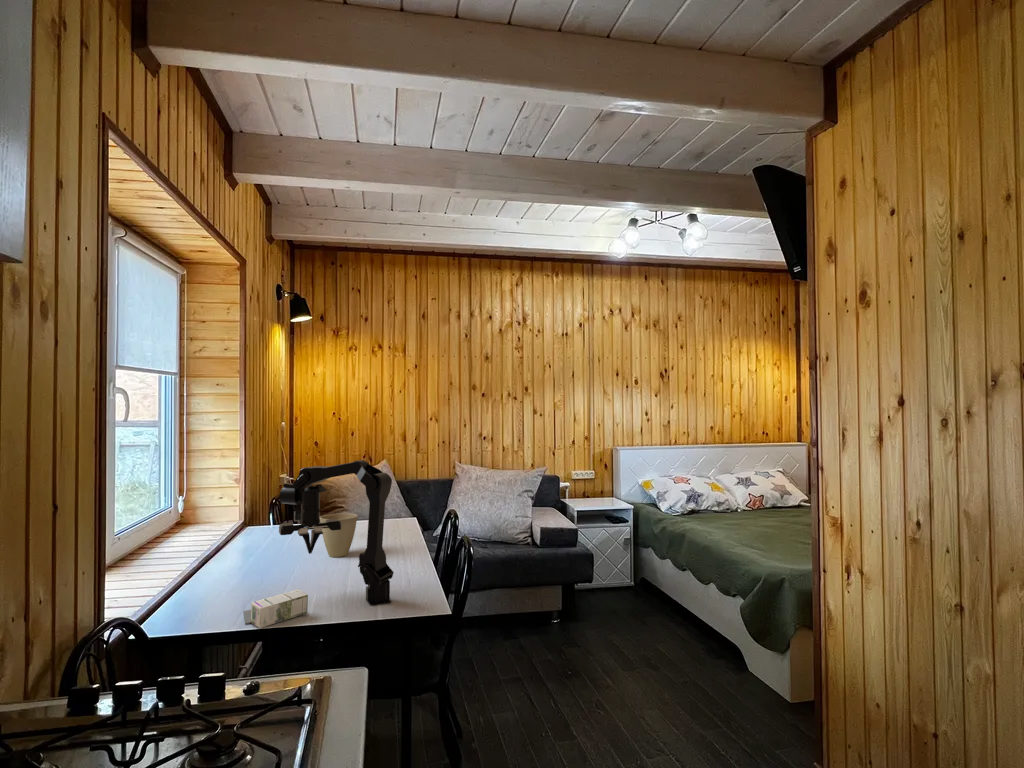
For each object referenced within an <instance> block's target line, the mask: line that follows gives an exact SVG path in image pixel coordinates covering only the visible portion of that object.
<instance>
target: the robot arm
mask: <svg viewBox="0 0 1024 768" xmlns="http://www.w3.org/2000/svg"><path fill="white" fill-rule="evenodd" d="M353 474H354V475H355V476H356V478H357V479H358V480H359V482H360V483H361V484H362V485H364V486H365V495H366V497H367V499H368V501H369V504H368V505H369V510H368V522H367V523H368V525H367V538H366V539H367V540H366V548H365V550H364V551H363V552H361V553H359V555H358V561H359V562H358V565H357V568H359V573H360V574H361V575H362V577H363V581H364V584H365V585H366V587H365V600H366V602H367V603H368V604H369V606H378V605H382V604H390V603H392V600H391V598H390V596H391V595H390V594H391V588H390V586H391V584H390V583H391V581H390V579H393V576H394V571H393V569H392V568H391V567H390V566H389V564H387V557H386V556H387V554H386V553H385V550H384V547H383V541H384V528H385V527H384V525H385V509H386V502H387V499H388V498H389V495H390V492H391V489H392V484H393V481H392V480H393V479H392V477H391V476H390V475H389V474H388V473H386V472H383V471H382V470H381V469H379V468H377V467H376V466H374V465H371V464H370V463H369V462H368V461H366V460H364V459H360V460H354V461H352V462H347V463H342V464H337V465H335V464H334V465H331V466H324V465H314V466H313V465H312V466H307V467H303V468H301V469H300V471H299V473H298V476H297V477H296V478H295V481H294V482H293V483H291V482H287V483H283V487H282V488H281V490H280V491H279V494H278V499H279V502H280V503H281V504H284V505H285V504H286V505H301V507H300V509H301V510H295V511H293V522H299V524H294V523H293V522H284V523H280V524H279V525H278V534H279V535H280V536H289V535H292V534H293V533H294V532H297V534H298V536H299V537H302V538H303V540H304V543H305V545H306V550H307V552H308V554H309V555H310V554H312V553H313V550H314V548H315V545H316V543H317V541H318V539H319V537H320V536H321V535H322V534H323V532H322V530H323V528H329V529H330V530H341V522H340V521H339V520H338V519H328V520H326V522H325V523H320V517H321V512H320V511H321V510H320V509H321V492H325V491H326V490H327V488H326V487H324V486H323V484H322V482H325V481H327V480H329V479H331V478H336V477H340V476H346V475H353ZM313 485H315V486H313ZM309 531H310V532H311V533H309ZM310 534H311V535H310Z"/></svg>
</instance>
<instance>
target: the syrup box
mask: <svg viewBox="0 0 1024 768" xmlns="http://www.w3.org/2000/svg"><path fill="white" fill-rule="evenodd" d="M308 599H309V595H308V593H307V592H305V591H303V590H301V589H300V588H299V589H298V588H297V589H293V590H291V591H288V592H284V593H281V594H277V595H274V596H270V597H267V598H263V599H259V600H256V601H252V602H251V605H250V606H251V608H250V610H251V622H252V624H253V625H254V626H255V627H257V628H258V629H262V628H265V627H268V626H270V625H273V624H277V623H280V622H284V621H286V620H290V619H293V618H296V616H297V617H300V616H302V615H305V614H307V613H308V606H309V605H308V604H309V602H308V601H309V600H308Z"/></svg>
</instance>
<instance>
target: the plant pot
mask: <svg viewBox="0 0 1024 768" xmlns="http://www.w3.org/2000/svg"><path fill="white" fill-rule="evenodd" d="M328 519H338V520H339V521H340V522H341V530H330V529H329V528H323V530H322V532H323V534H321V535H322V538H323V543H324V546H325V549H326V552H327V555H328V556H329V557H330V558H341V557H342V558H343V557H346V556H348V554H349V552H350V549H351V546H352V544H353V540H354V537H355V532H356V528H357V523H358V522H357V520H358V515H357V514H355V513H350V512H349V513H344V512H343V513H331V514H330V513H329V514H324V515H320V523H325V522H326V520H328Z"/></svg>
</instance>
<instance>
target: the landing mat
mask: <svg viewBox="0 0 1024 768" xmlns="http://www.w3.org/2000/svg"><path fill="white" fill-rule="evenodd" d="M296 617H298V616H296ZM296 617H295V618H296ZM243 619H244V625H250V624H253V623H252V622H251V609H248V610H243Z"/></svg>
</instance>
